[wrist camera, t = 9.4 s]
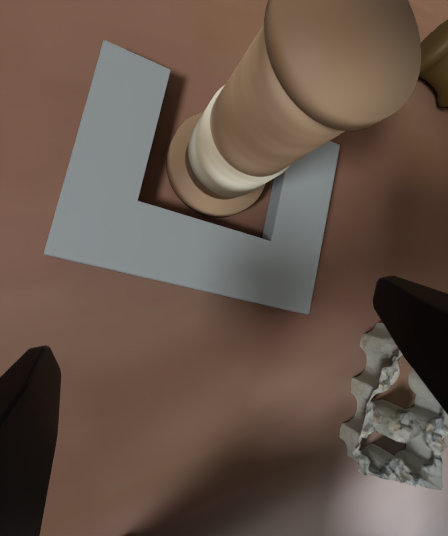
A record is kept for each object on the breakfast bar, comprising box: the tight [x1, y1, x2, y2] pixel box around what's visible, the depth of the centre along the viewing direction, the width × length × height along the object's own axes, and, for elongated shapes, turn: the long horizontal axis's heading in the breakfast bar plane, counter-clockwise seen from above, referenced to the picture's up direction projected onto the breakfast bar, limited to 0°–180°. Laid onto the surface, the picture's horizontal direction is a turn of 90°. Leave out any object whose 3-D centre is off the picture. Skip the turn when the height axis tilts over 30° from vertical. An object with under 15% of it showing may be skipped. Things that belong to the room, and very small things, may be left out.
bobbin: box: [166, 0, 421, 218], centre depth 16 cm, size 6×6×13 cm
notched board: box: [44, 40, 340, 315], centre depth 21 cm, size 12×16×2 cm
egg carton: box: [339, 322, 448, 490], centre depth 24 cm, size 11×8×4 cm
